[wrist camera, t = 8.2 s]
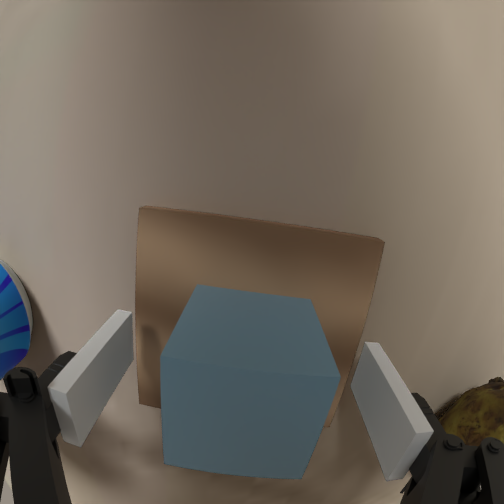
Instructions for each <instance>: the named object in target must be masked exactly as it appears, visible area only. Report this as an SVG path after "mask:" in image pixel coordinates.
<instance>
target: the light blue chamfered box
mask: <svg viewBox="0 0 504 504" xmlns="http://www.w3.org/2000/svg"><path fill="white" fill-rule="evenodd" d="M340 378H341V376H340V373H339V371H338V368H337V366H336V363H335V360H334V358H333V355H332V352H331V350H330V347H329V345H328V342H327V339H326V337H325V334H324V332H323V329H322V327H321V324H320V321H319V319H318V316H317V314H316V311H315V309H314V306H313V304H312V301H311V299H305V298H296V297H288V296H280V295H272V294H264V293H256V292H249V291H241V290H234V289H227V288H220V287H213V286H206V285H199V284H197V285H196V287H195V289H194V291H193V293H192V295H191V297H190V299H189V301H188V303H187V305H186V306H185V308H184V310H183V312H182V314H181V316H180V318H179V320H178V322H177V324H176V326H175V328H174V330H173V332H172V334H171V336H170V338H169V340H168V342H167V344H166V345H165V347H164V349H163V351H162V353H161V355H160V381H161V417H162V438H163V454H164V464H167V465H172V466H177V467H182V468H187V469H193V470H199V471H206V472H212V473H220V474H228V475H237V476H247V477H260V478H277V479H302V476H303V474H304V472H305V470H306V467H307V465H308V463H309V460H310V458H311V456H312V453H313V451H314V449H315V446H316V444H317V441H318V439H319V436H320V434H321V431H322V428H323V426H324V423H325V421H326V418H327V415H328V413H329V410H330V407H331V404H332V402H333V399H334V396H335V393H336V390H337V387H338V384H339V381H340Z"/></svg>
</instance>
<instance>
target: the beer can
mask: <svg viewBox="0 0 504 504" xmlns="http://www.w3.org/2000/svg"><path fill="white" fill-rule="evenodd" d="M32 325H33V318H32V310H31V306H30V302H29V299H28V296H27V293H26V291H25V289H24V287H23V285H22V283H21V281H20V280H19V278H18V277H17V275H16V274H15V272H14V271H13V270H12V269H11V268H10V267H9V266H8V265H7V264H6V263H5V262H3V261H2V260H0V380H1V379H2V378H3V377H4V375H5V374H6V373H7V372H8V371H9V370H11V369H13V368H14V367H15V366H16V365H17V364H18V363H19V362H20V361H21V360H22V359H23V358H24V357H25V356H26V354H27V353H28V350H29V347H30V342H31V332H32Z"/></svg>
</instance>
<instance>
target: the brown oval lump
mask: <svg viewBox="0 0 504 504" xmlns="http://www.w3.org/2000/svg"><path fill="white" fill-rule="evenodd" d="M439 422H440V424H441V425H442V427H443V428H444V430H445V432H446V433H447V434H453V435H456V436H458V437H459V438H461V439H462V440H463V442H464V443H465V445H469V446H479V445H480V443H481V442H482V440H483V439H485V438H486V437H493V438H497V439H499V440H500V441H501V442H502V443H503V444H504V380H503V379H502V378H501V377H497V378H494V379H490V380H489V383H488V384H485V385H482V386H480V387H477V388H472V389H471V390H469V391H466V392H465V393H464V394H463V395H462V396H461V397H460V399H459V400H457V401H456V402H455V403H454V404H453V405H452V406H451V407H450V408H449V409H448V410H447V411H446V413H445V414H444V416H443V417H441V418H440V419H439Z"/></svg>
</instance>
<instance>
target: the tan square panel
mask: <svg viewBox="0 0 504 504" xmlns="http://www.w3.org/2000/svg"><path fill="white" fill-rule="evenodd" d="M384 243H385V242H384V241H382V240H380V239H379V238H374V237H368V236H362V235H356V234H350V233H344V232H337V231H331V230H324V229H318V228H311V227H305V226H298V225H291V224H284V223H277V222H270V221H263V220H256V219H248V218H241V217H233V216H226V215H218V214H210V213H202V212H194V211H186V210H178V209H169V208H160V207H152V206H144V207H141V208H139V218H138V233H137V253H136V290H135V320H136V357H137V376H138V391H139V404H143V405H147V406H152V407H156V408H161V381H160V355H161V353H162V351H163V349H164V347H165V345H166V344H167V342H168V340H169V338H170V336H171V334H172V332H173V330H174V328H175V326H176V324H177V322H178V320H179V318H180V316H181V314H182V312H183V310H184V308H185V306H186V305H187V303H188V301H189V299H190V297H191V295H192V293H193V291H194V289H195V287H196V285H197V284H199V285H206V286H213V287H220V288H227V289H234V290H241V291H249V292H256V293H264V294H272V295H280V296H288V297H296V298H305V299H311V301H312V304H313V306H314V309H315V311H316V314H317V316H318V319H319V321H320V324H321V327H322V329H323V332H324V334H325V337H326V339H327V342H328V345H329V347H330V350H331V352H332V355H333V358H334V360H335V363H336V366H337V368H338V371H339V373H340V376H341V378H340V381H339V384H338V387H337V390H336V393H335V396H334V399H333V402H332V404H331V407H330V410H329V413H328V415H327V418H326V421H325V423H324V426H323V427H330V424H331V422H332V419H333V417H334V414H335V411H336V409H337V406H338V403H339V401H340V398H341V395H342V392H343V390H344V387H345V384H346V381H347V378H348V375H349V372H350V369H351V366H352V363H353V360H354V357H355V354H356V351H357V348H358V344H359V341H360V338H361V334H362V331H363V328H364V324H365V321H366V317H367V313H368V310H369V306H370V302H371V299H372V295H373V291H374V287H375V283H376V279H377V275H378V270H379V266H380V262H381V257H382V253H383V248H384Z"/></svg>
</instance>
